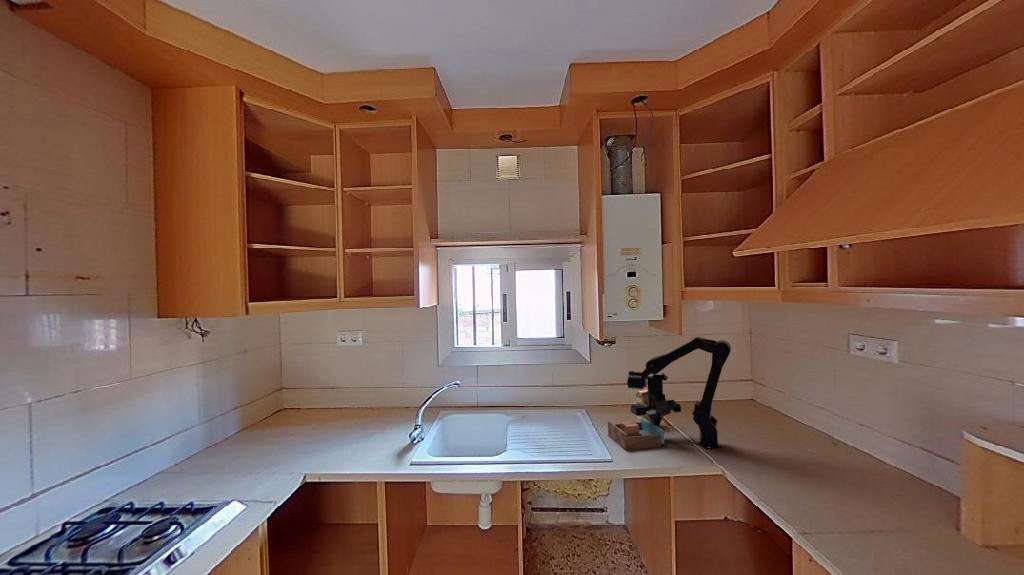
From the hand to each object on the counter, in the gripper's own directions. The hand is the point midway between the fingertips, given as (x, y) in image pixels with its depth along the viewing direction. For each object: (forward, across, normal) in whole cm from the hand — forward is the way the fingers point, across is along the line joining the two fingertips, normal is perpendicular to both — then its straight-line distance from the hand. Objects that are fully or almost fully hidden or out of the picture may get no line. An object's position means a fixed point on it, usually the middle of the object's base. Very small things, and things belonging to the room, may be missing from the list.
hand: (656, 430), depth 181 cm
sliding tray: (+2, -9, -1) cm, 9 cm away
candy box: (+3, +3, +14) cm, 15 cm away
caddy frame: (+3, -10, -1) cm, 11 cm away
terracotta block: (+1, -12, -1) cm, 12 cm away
